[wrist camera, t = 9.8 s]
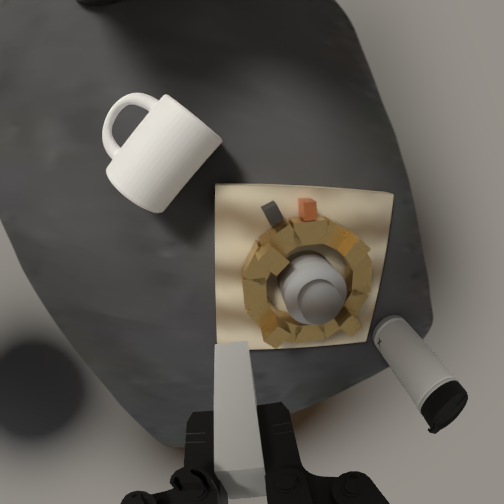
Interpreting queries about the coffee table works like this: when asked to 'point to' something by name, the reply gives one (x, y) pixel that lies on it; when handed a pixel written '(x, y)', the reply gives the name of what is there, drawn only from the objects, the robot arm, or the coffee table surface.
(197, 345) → the coffee table surface
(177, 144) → the mug
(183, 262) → the coffee table surface
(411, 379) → the travel mug
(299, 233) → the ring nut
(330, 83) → the coffee table surface
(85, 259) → the coffee table surface
